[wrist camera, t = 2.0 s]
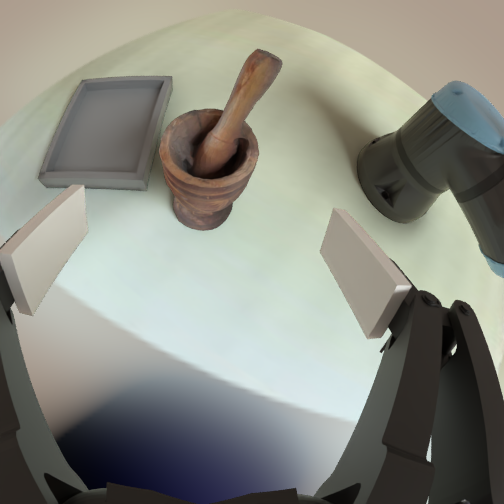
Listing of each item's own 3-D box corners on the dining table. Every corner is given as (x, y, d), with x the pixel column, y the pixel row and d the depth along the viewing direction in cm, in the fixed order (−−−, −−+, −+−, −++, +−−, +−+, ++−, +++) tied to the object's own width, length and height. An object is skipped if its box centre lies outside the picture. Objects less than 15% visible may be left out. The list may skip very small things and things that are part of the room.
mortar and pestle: (191, 148, 36) (197, 26, 17) (250, 165, 37) (297, 51, 18) (160, 223, 33) (128, 117, 14) (227, 243, 34) (267, 153, 15)
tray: (172, 89, 38) (172, 76, 35) (146, 190, 33) (142, 180, 31) (86, 91, 35) (82, 79, 32) (46, 187, 31) (37, 178, 28)
